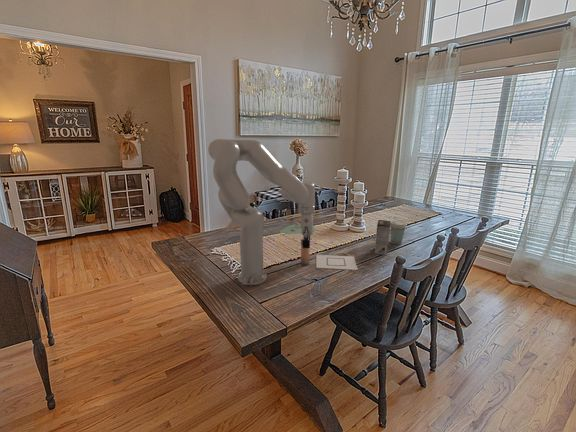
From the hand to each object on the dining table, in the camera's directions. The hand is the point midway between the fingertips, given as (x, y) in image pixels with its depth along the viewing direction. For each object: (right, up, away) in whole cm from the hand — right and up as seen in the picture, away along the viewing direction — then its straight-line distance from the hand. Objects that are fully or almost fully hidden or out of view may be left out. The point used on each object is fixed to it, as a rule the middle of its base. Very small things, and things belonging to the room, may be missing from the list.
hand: (306, 243), depth 145 cm
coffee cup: (+53, -2, +30) cm, 61 cm away
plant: (-3, +4, +53) cm, 53 cm away
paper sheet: (+15, -9, +4) cm, 18 cm away
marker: (-1, -10, +2) cm, 10 cm away
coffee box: (+41, -6, +18) cm, 45 cm away
